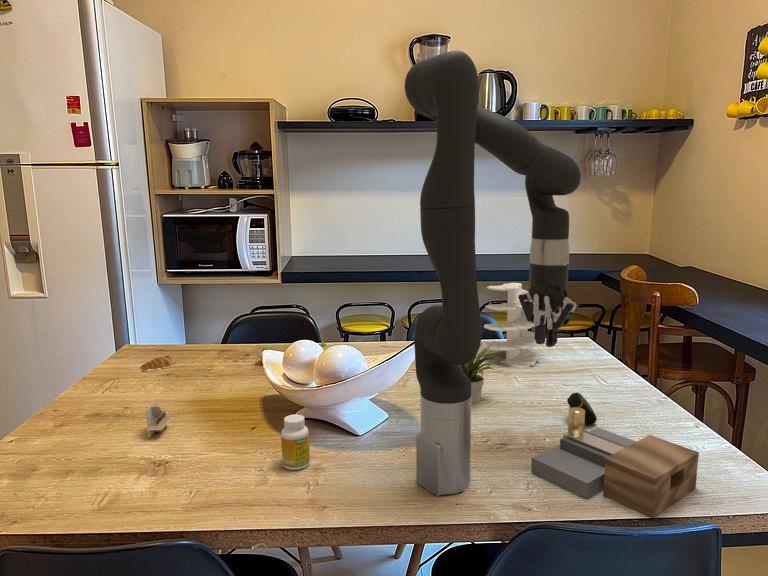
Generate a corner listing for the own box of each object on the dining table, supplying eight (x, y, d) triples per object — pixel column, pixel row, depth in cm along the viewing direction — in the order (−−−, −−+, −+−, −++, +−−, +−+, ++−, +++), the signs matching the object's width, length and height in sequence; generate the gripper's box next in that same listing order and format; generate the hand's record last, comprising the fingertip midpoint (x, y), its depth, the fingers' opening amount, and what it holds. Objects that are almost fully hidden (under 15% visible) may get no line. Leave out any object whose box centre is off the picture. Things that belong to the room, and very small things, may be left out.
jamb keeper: (652, 518, 92) (655, 478, 91) (603, 494, 99) (605, 458, 98) (695, 488, 101) (699, 452, 100) (647, 468, 108) (649, 435, 107)
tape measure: (587, 429, 128) (601, 420, 127) (572, 417, 125) (586, 407, 124) (574, 407, 134) (587, 398, 133) (559, 395, 131) (572, 386, 129)
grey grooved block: (586, 499, 98) (588, 472, 97) (531, 472, 107) (532, 447, 106) (651, 461, 111) (653, 437, 110) (596, 440, 120) (598, 418, 119)
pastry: (146, 376, 164) (145, 364, 164) (137, 371, 169) (135, 359, 168) (177, 369, 171) (176, 357, 170) (167, 363, 175) (166, 352, 175)
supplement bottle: (297, 473, 108) (295, 426, 106) (276, 466, 111) (274, 420, 109) (315, 461, 112) (313, 416, 111) (294, 455, 115) (292, 410, 114)
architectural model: (173, 430, 129) (171, 400, 128) (162, 444, 122) (159, 412, 121) (159, 431, 129) (156, 400, 128) (146, 444, 122) (143, 412, 121)
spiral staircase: (538, 355, 181) (541, 279, 177) (545, 373, 164) (548, 289, 159) (481, 353, 184) (482, 278, 179) (482, 370, 167) (483, 288, 162)
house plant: (470, 418, 132) (471, 352, 129) (428, 402, 142) (428, 340, 140) (507, 403, 141) (509, 340, 139) (465, 389, 152) (466, 330, 149)
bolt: (613, 464, 103) (615, 428, 102) (562, 443, 112) (564, 410, 110) (625, 458, 105) (627, 423, 104) (574, 437, 114) (576, 405, 113)
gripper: (509, 259, 115) (507, 341, 118) (567, 266, 104) (563, 356, 107) (533, 256, 119) (530, 335, 122) (590, 262, 108) (586, 349, 111)
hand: (545, 344), depth 115 cm, fingers closed
